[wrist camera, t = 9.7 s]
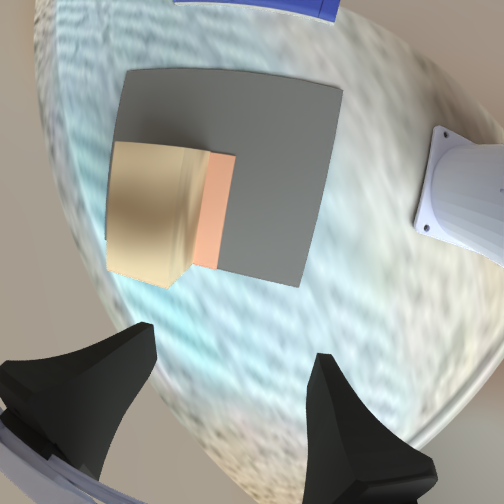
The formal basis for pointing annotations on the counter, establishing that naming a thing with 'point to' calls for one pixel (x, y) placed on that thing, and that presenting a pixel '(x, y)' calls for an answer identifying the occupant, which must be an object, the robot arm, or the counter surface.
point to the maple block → (154, 210)
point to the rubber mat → (244, 154)
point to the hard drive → (280, 7)
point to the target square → (213, 209)
